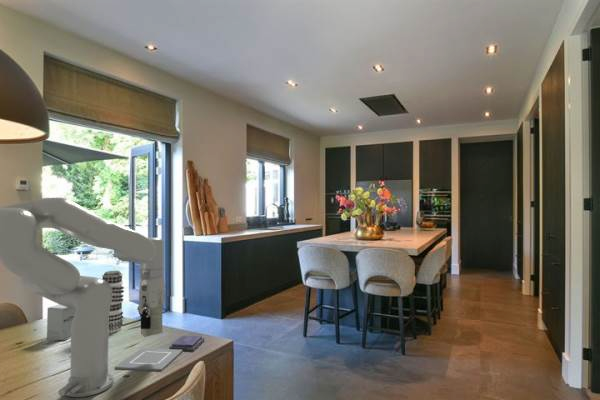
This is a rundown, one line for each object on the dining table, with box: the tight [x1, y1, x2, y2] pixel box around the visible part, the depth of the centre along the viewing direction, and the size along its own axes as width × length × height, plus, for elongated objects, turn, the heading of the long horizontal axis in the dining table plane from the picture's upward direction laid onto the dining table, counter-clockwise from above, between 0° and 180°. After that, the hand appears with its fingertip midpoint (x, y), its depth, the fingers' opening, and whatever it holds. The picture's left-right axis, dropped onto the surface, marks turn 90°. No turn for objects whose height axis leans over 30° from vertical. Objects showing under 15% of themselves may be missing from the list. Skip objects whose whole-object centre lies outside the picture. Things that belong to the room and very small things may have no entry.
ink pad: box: [169, 335, 205, 352], centre depth 137 cm, size 10×9×2 cm
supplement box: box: [46, 304, 76, 341], centre depth 147 cm, size 7×7×13 cm
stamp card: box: [114, 347, 184, 372], centre depth 124 cm, size 16×16×1 cm
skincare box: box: [140, 298, 163, 338], centre depth 124 cm, size 6×4×12 cm
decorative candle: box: [101, 270, 125, 334], centre depth 155 cm, size 9×9×25 cm
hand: (151, 324), depth 124 cm, fingers closed on skincare box, 7 cm apart
